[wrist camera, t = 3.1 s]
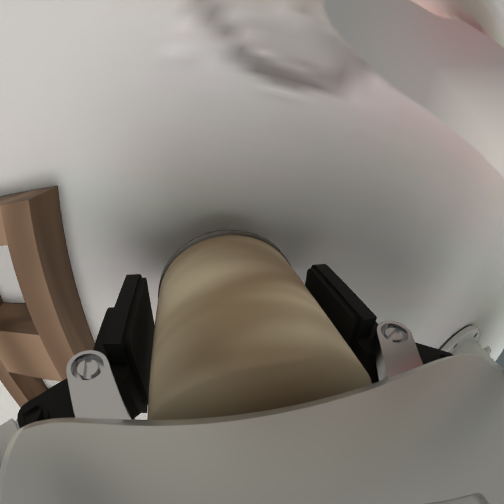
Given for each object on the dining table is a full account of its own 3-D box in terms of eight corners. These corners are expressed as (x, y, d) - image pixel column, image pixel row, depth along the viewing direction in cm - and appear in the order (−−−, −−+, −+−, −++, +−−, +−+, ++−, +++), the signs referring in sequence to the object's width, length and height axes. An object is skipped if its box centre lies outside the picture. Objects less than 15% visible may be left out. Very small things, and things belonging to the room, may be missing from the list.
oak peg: (274, 206, 14) (406, 330, 5) (267, 300, 16) (338, 449, 7) (161, 209, 13) (111, 369, 4) (170, 306, 15) (171, 477, 6)
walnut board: (57, 186, 11) (28, 200, 8) (124, 409, 18) (122, 438, 15) (-39, 206, 9) (-66, 221, 6) (41, 399, 16) (33, 423, 13)
